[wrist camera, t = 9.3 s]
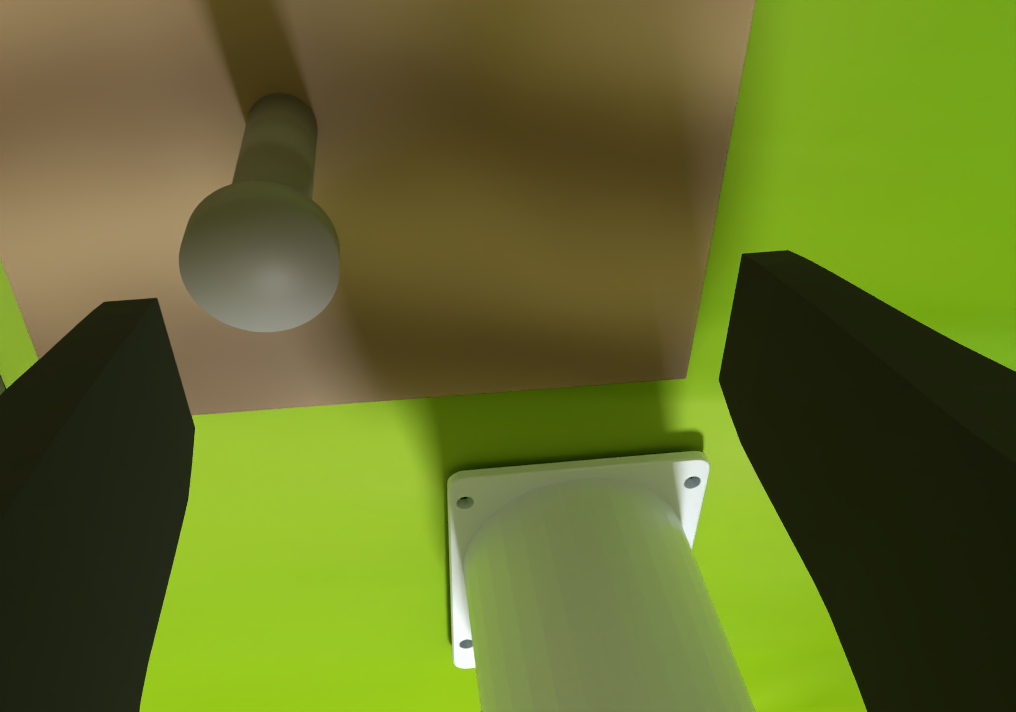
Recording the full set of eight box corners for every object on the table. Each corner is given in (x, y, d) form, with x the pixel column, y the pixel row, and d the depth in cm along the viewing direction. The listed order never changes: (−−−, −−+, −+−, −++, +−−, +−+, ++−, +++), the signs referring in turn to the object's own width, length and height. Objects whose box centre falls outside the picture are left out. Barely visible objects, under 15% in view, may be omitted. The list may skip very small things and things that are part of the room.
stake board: (674, 356, 24) (762, 536, 19) (73, 398, 22) (-10, 612, 17) (790, -322, 15) (1016, -328, 10) (-199, -352, 13) (-546, -377, 8)
